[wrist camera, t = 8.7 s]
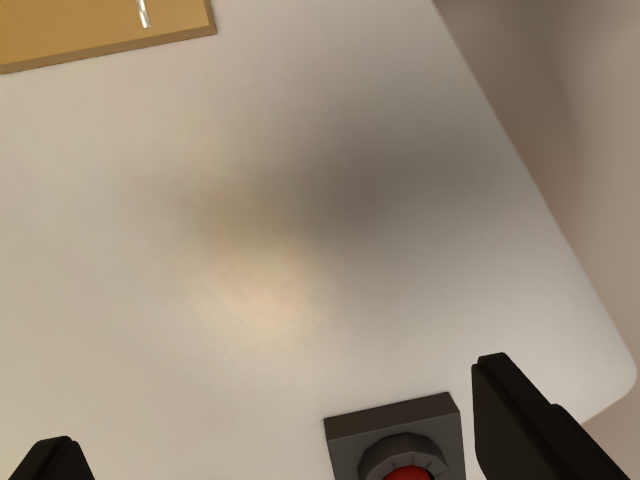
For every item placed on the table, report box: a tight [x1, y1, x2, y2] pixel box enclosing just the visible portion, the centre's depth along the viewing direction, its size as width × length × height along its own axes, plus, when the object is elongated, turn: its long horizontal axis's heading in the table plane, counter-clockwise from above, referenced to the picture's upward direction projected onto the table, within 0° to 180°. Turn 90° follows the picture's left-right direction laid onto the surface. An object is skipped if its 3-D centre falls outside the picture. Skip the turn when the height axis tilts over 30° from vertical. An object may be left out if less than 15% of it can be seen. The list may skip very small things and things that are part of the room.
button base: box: [324, 393, 466, 480], centre depth 31 cm, size 10×8×4 cm
